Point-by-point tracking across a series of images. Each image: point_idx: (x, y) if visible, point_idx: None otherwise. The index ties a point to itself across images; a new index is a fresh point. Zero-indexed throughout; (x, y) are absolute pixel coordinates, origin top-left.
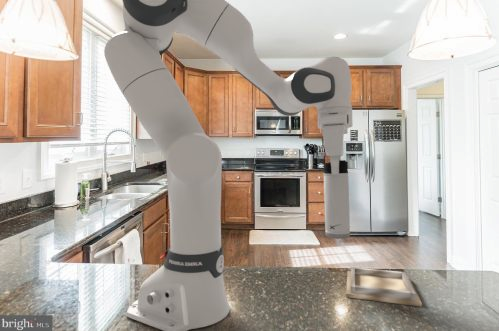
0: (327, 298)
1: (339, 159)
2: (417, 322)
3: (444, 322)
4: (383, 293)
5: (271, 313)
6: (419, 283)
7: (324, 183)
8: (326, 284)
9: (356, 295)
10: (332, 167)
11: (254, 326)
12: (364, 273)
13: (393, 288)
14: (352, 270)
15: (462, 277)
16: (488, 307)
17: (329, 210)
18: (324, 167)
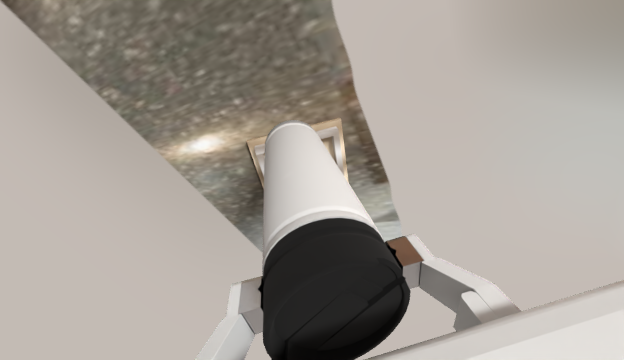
0: (225, 117)
1: (455, 325)
2: (232, 214)
3: (249, 231)
4: None
5: (108, 53)
6: None
7: (284, 197)
8: (275, 99)
9: (251, 154)
10: (229, 318)
11: (48, 46)
12: (333, 147)
13: None
14: (323, 135)
15: None
16: None
17: (265, 167)
18: (289, 262)
